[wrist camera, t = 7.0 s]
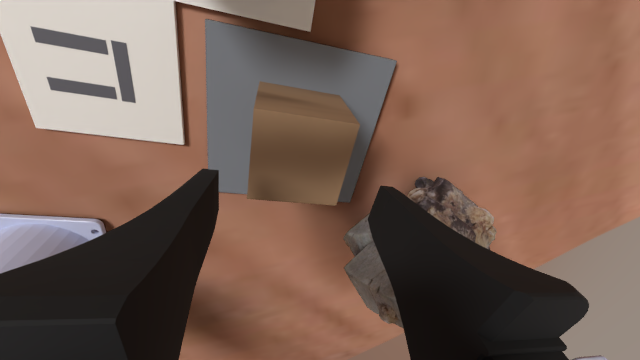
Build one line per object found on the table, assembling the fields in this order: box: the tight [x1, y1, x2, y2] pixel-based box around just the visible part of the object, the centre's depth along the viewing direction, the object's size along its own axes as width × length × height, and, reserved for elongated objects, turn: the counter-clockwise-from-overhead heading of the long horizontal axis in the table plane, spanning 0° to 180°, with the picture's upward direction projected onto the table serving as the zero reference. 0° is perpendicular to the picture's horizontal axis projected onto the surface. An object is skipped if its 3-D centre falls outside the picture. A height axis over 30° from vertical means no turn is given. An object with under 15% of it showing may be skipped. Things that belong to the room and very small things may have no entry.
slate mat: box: [205, 19, 397, 203], centre depth 18 cm, size 11×11×1 cm
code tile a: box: [0, 0, 185, 145], centre depth 14 cm, size 8×8×1 cm
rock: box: [344, 177, 496, 328], centre depth 21 cm, size 9×12×10 cm
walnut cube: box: [247, 81, 360, 206], centre depth 16 cm, size 5×5×5 cm
